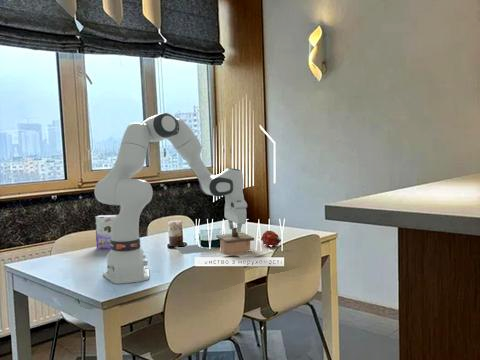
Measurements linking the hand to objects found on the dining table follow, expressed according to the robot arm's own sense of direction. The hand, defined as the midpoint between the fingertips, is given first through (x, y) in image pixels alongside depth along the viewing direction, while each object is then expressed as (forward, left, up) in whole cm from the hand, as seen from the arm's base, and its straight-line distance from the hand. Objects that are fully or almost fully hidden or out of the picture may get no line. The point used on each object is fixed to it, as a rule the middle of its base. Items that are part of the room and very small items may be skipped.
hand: (234, 230), depth 235 cm
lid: (0, 0, -4) cm, 4 cm away
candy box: (+34, +54, -10) cm, 65 cm away
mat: (+12, +17, -10) cm, 23 cm away
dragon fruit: (+2, -20, -10) cm, 23 cm away
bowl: (0, 0, -10) cm, 10 cm away
